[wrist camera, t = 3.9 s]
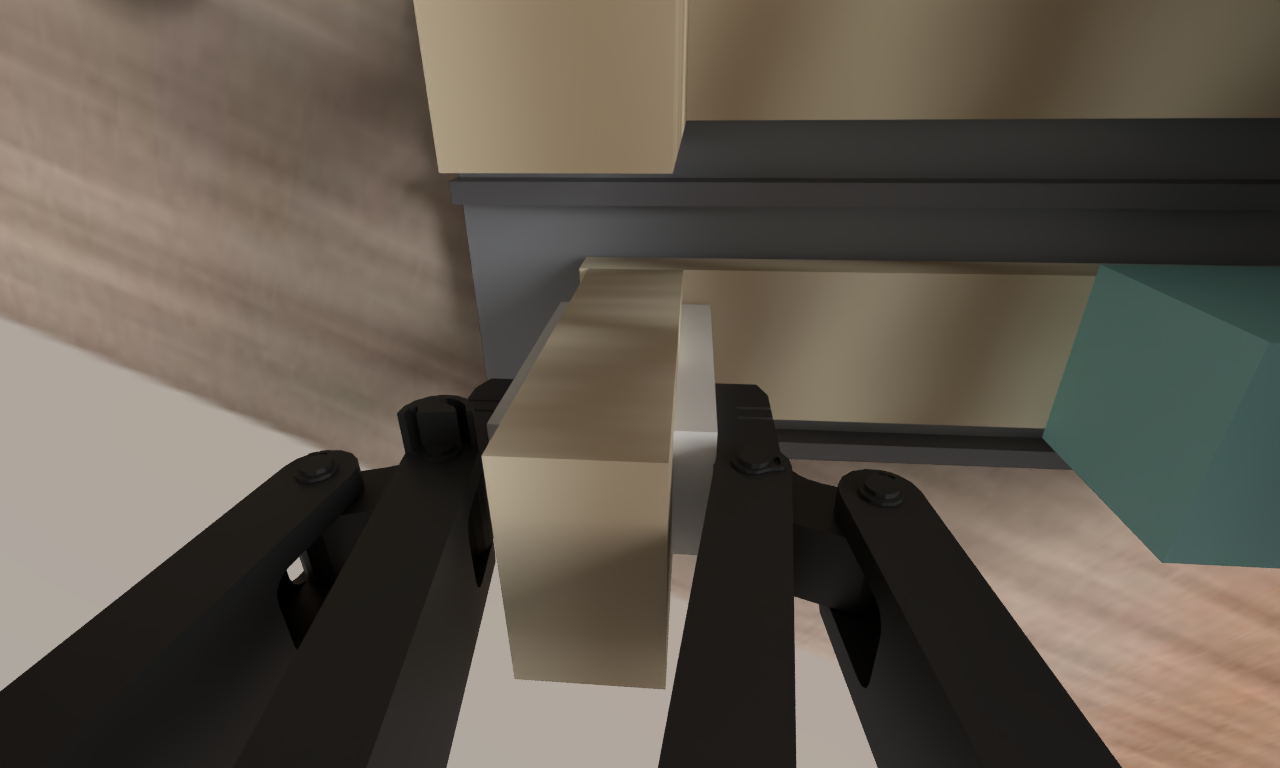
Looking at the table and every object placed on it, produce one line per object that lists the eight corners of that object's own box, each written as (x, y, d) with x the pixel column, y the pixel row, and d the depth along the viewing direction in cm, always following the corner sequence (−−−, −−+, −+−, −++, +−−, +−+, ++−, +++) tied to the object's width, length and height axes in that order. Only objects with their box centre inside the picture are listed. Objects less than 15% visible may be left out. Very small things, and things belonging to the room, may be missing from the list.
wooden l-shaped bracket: (593, 394, 19) (499, 677, 10) (586, 256, 17) (462, 455, 8) (1259, 415, 18) (1853, 771, 9) (1334, 266, 16) (2211, 524, 7)
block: (1042, 437, 17) (1162, 562, 13) (1099, 263, 15) (1269, 342, 11) (1231, 443, 17) (1423, 575, 12) (1320, 267, 15) (1593, 349, 10)
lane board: (504, 416, 22) (486, 447, 20) (431, -170, 14) (393, -205, 13) (1229, 441, 20) (1282, 477, 18) (1558, -219, 13) (1700, -268, 11)
